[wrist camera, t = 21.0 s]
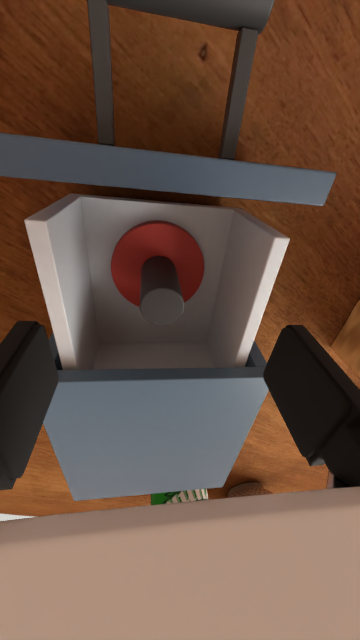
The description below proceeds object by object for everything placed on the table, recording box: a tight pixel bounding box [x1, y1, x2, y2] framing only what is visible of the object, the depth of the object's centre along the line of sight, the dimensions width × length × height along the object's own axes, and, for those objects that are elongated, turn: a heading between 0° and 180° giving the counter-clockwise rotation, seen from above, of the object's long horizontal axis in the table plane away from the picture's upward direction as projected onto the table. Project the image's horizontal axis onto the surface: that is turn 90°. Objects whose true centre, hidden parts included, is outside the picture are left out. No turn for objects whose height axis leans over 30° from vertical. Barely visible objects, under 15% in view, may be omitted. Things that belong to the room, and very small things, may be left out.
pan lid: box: [111, 220, 204, 325], centre depth 15 cm, size 6×6×5 cm
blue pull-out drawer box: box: [0, 0, 336, 370], centre depth 14 cm, size 20×13×7 cm, turn 175°
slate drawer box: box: [43, 333, 269, 501], centre depth 22 cm, size 16×14×9 cm
